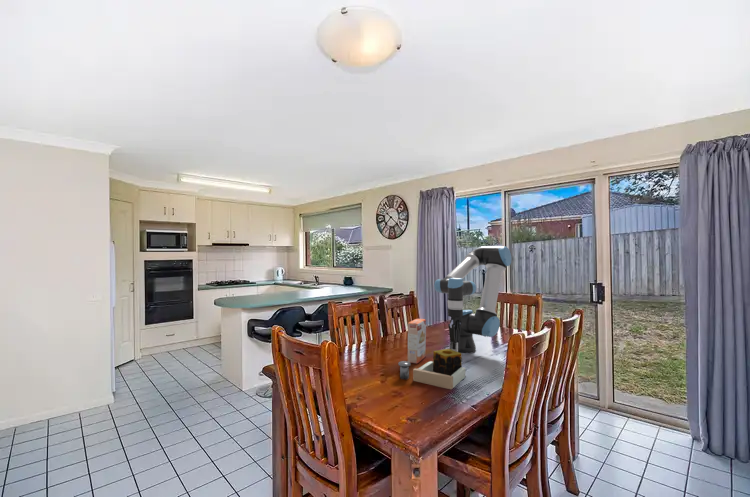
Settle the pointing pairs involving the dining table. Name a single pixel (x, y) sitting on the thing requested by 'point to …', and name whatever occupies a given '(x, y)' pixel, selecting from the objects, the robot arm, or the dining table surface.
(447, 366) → the candle
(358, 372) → the dining table surface
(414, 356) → the cracker box
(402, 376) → the mushroom drawer knob
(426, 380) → the bay
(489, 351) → the dining table surface
